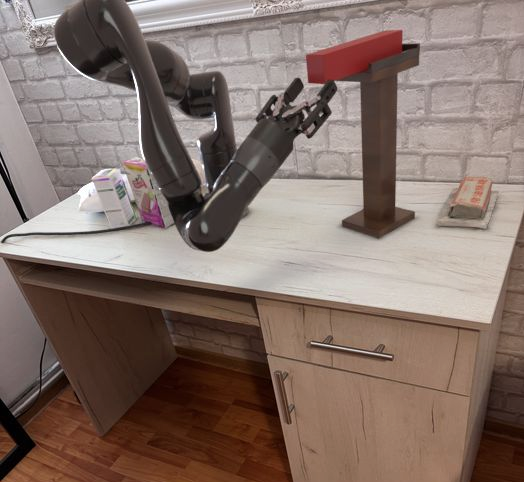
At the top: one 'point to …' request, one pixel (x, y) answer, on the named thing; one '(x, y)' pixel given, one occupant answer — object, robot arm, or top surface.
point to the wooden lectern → (380, 143)
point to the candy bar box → (147, 194)
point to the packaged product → (469, 204)
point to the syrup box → (114, 197)
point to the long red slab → (352, 56)
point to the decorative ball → (199, 170)
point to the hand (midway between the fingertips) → (316, 82)
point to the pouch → (91, 199)
